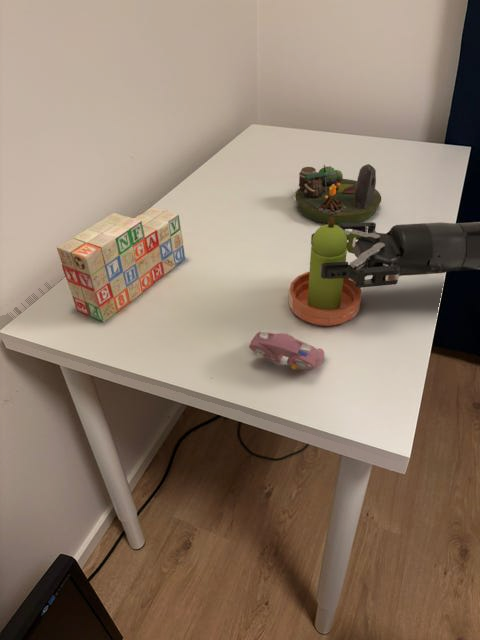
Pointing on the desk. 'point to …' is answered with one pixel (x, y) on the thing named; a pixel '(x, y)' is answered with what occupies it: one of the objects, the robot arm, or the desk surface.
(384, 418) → the desk surface
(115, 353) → the desk surface
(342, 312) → the bowl
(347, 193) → the toy scene
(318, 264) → the pear toy
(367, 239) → the robot arm
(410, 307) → the desk surface
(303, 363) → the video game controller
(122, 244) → the stack of blocks
